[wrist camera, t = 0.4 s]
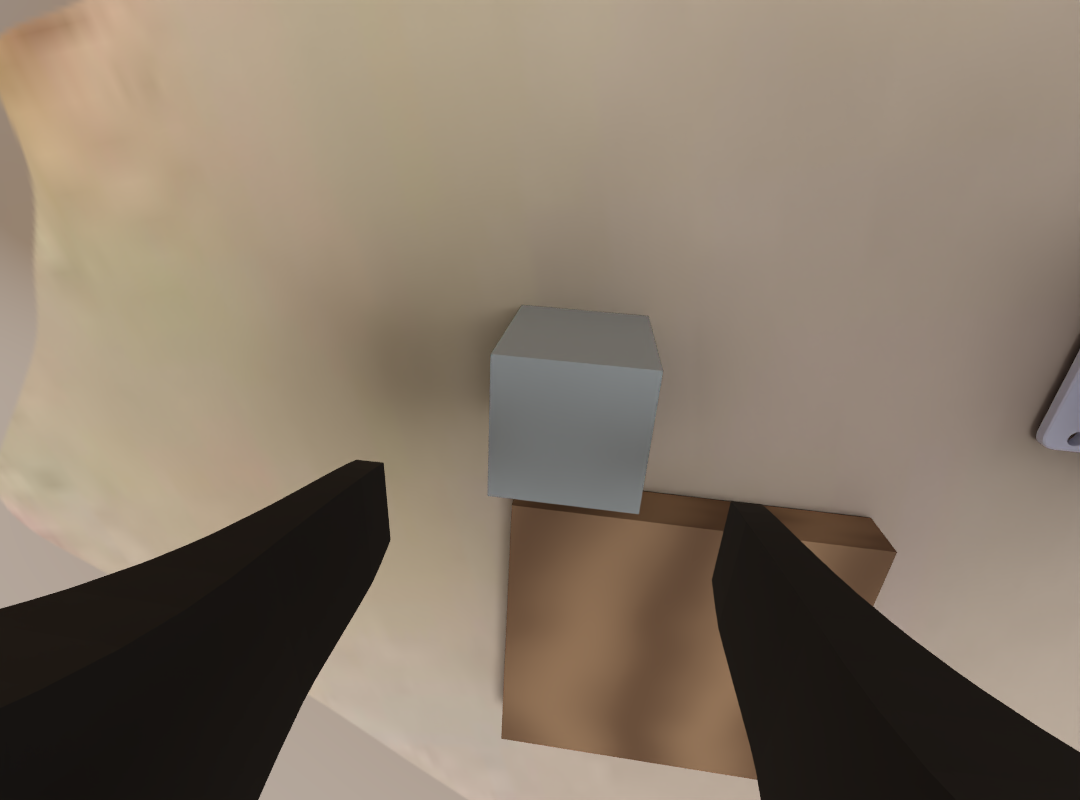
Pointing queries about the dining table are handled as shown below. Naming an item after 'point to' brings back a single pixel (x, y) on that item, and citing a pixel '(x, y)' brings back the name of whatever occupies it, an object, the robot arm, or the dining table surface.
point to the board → (642, 626)
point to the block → (573, 408)
